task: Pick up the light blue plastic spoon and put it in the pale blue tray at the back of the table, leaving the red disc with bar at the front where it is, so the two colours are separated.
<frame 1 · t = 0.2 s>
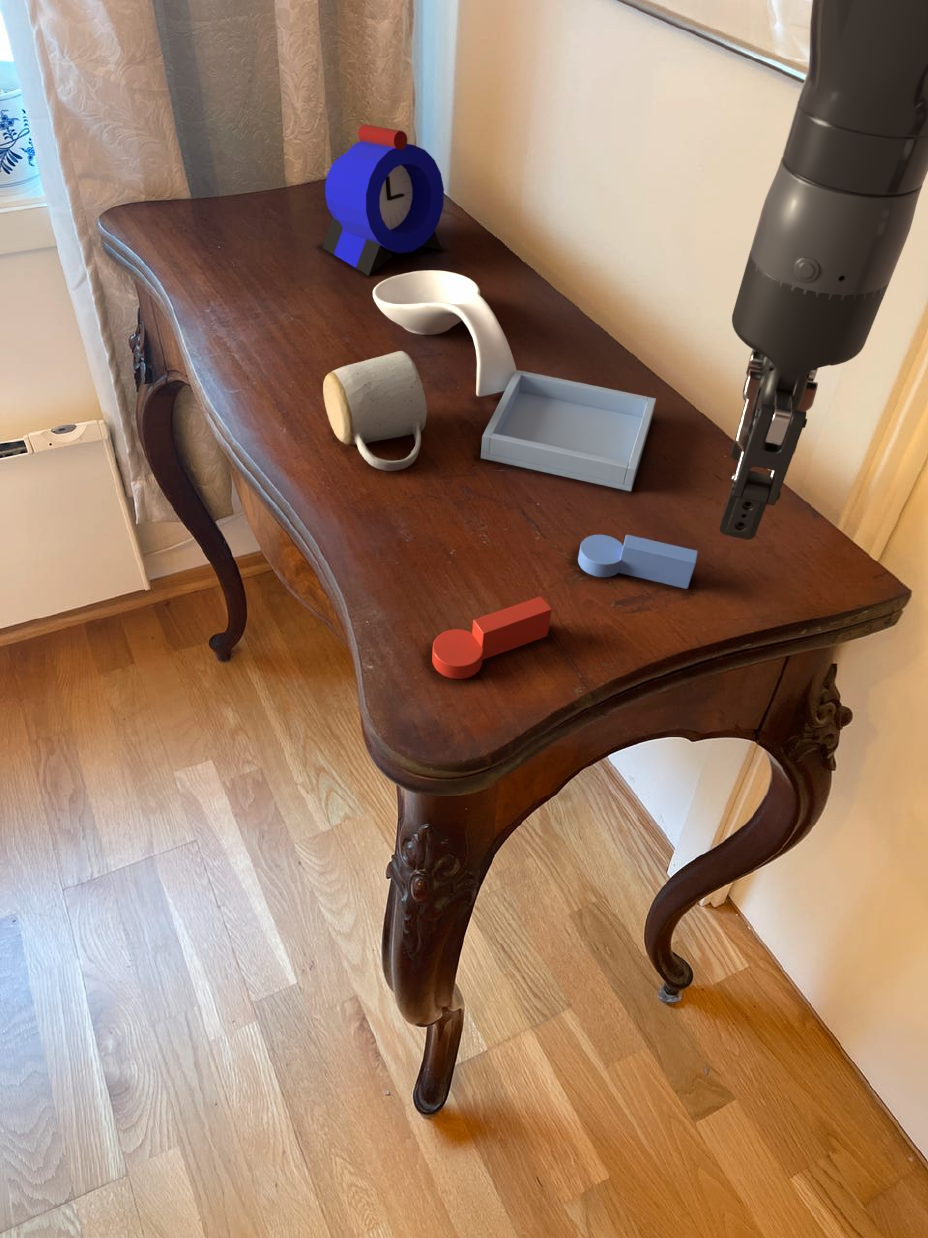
hand: (741, 494, 62), 15 cm above the table, tool pointing down, fingers open, 8 cm apart
alarm clock: (380, 248, 120), on the table
blue tray: (568, 438, 92), on the table
spoon rest: (449, 345, 104), on the table, touching blue tray
ceramic mug: (382, 442, 91), on the table
blue spoon: (630, 569, 79), on the table
red disc with bar: (486, 649, 72), on the table
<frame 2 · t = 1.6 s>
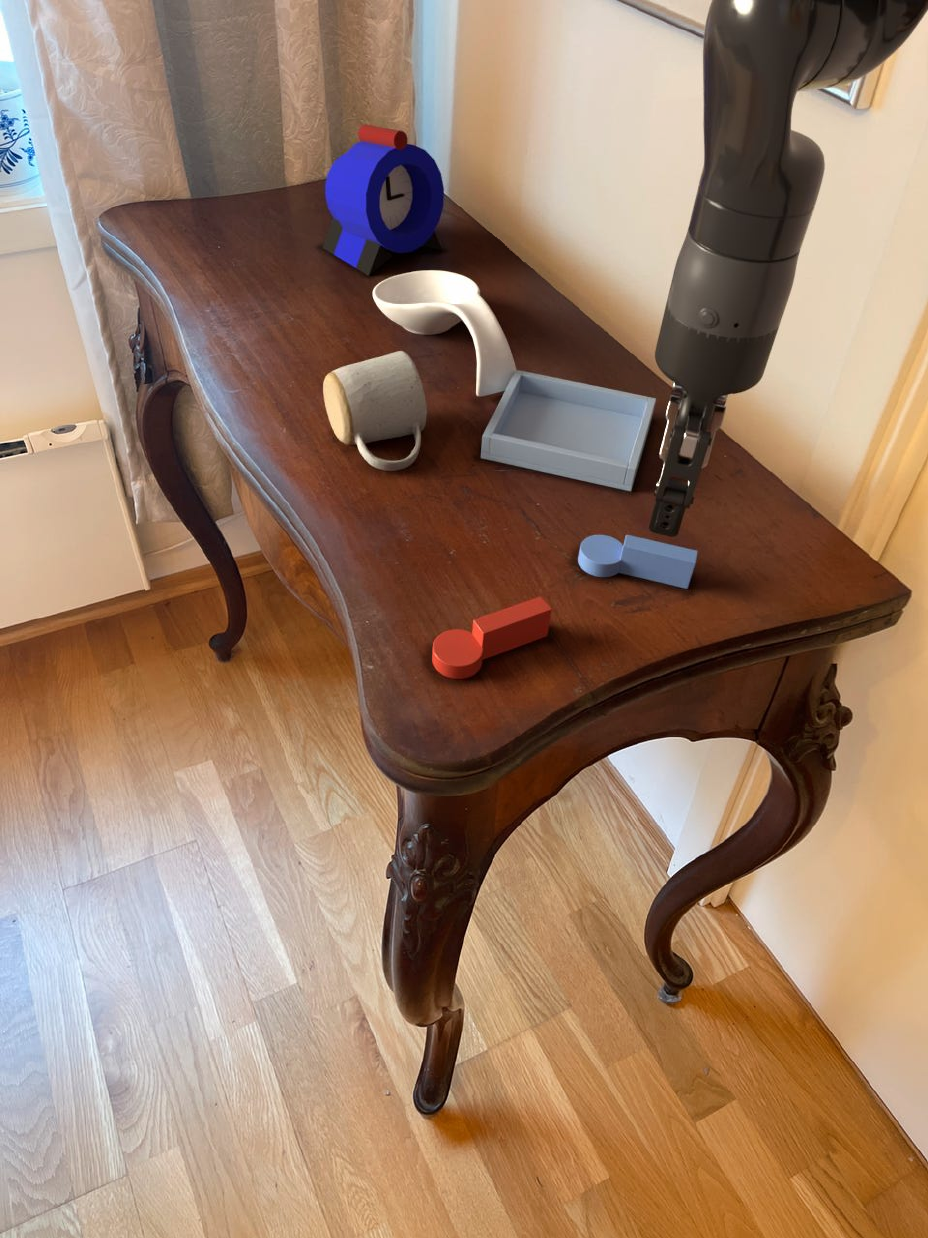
hand: (670, 498, 73), 8 cm above the table, tool pointing down, fingers open, 8 cm apart
nothing on the table moved.
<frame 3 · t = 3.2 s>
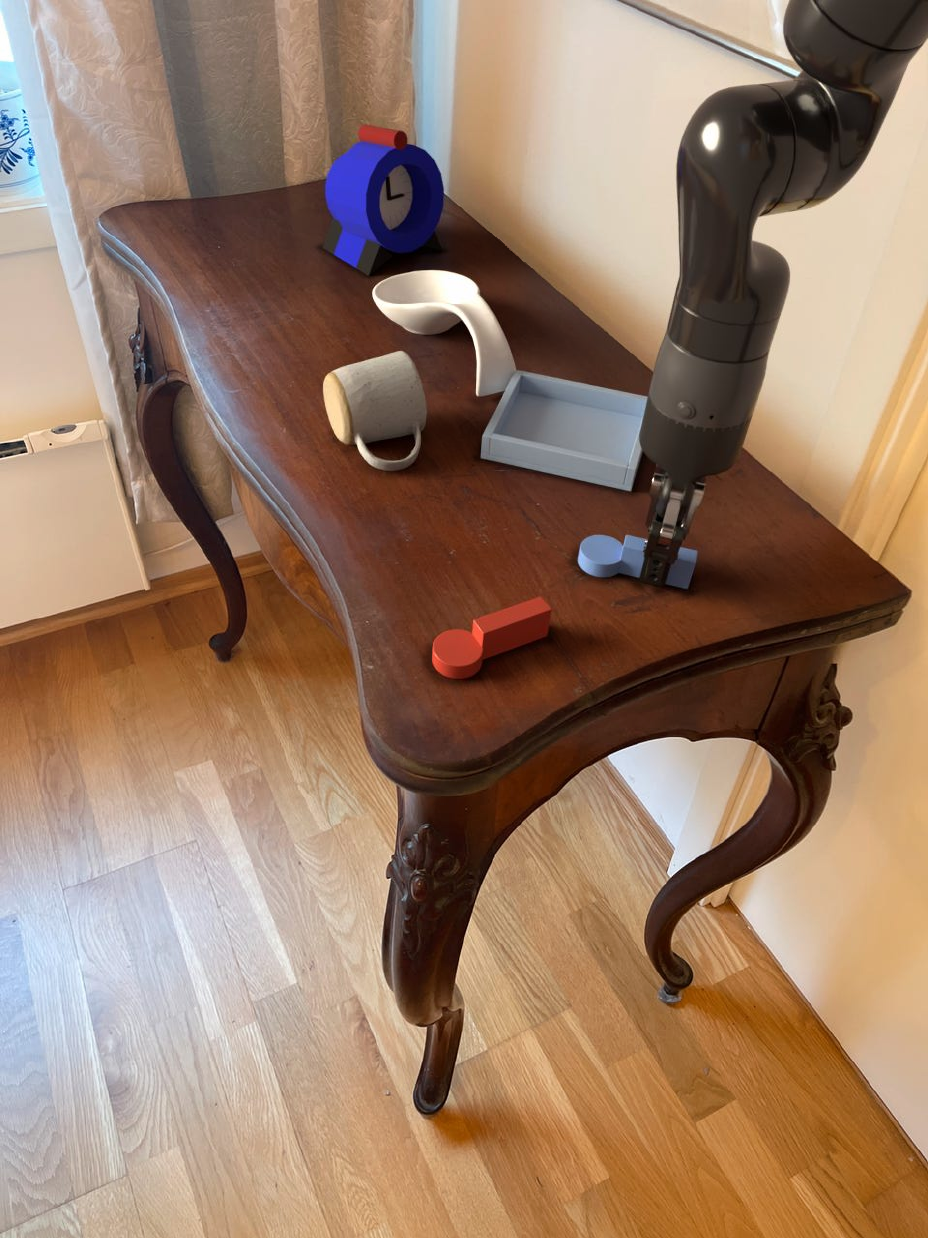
hand: (653, 572, 79), 0 cm above the table, tool pointing down, fingers closed on blue spoon
blue spoon: (630, 569, 79), on the table, touching gripper
everything else where it was.
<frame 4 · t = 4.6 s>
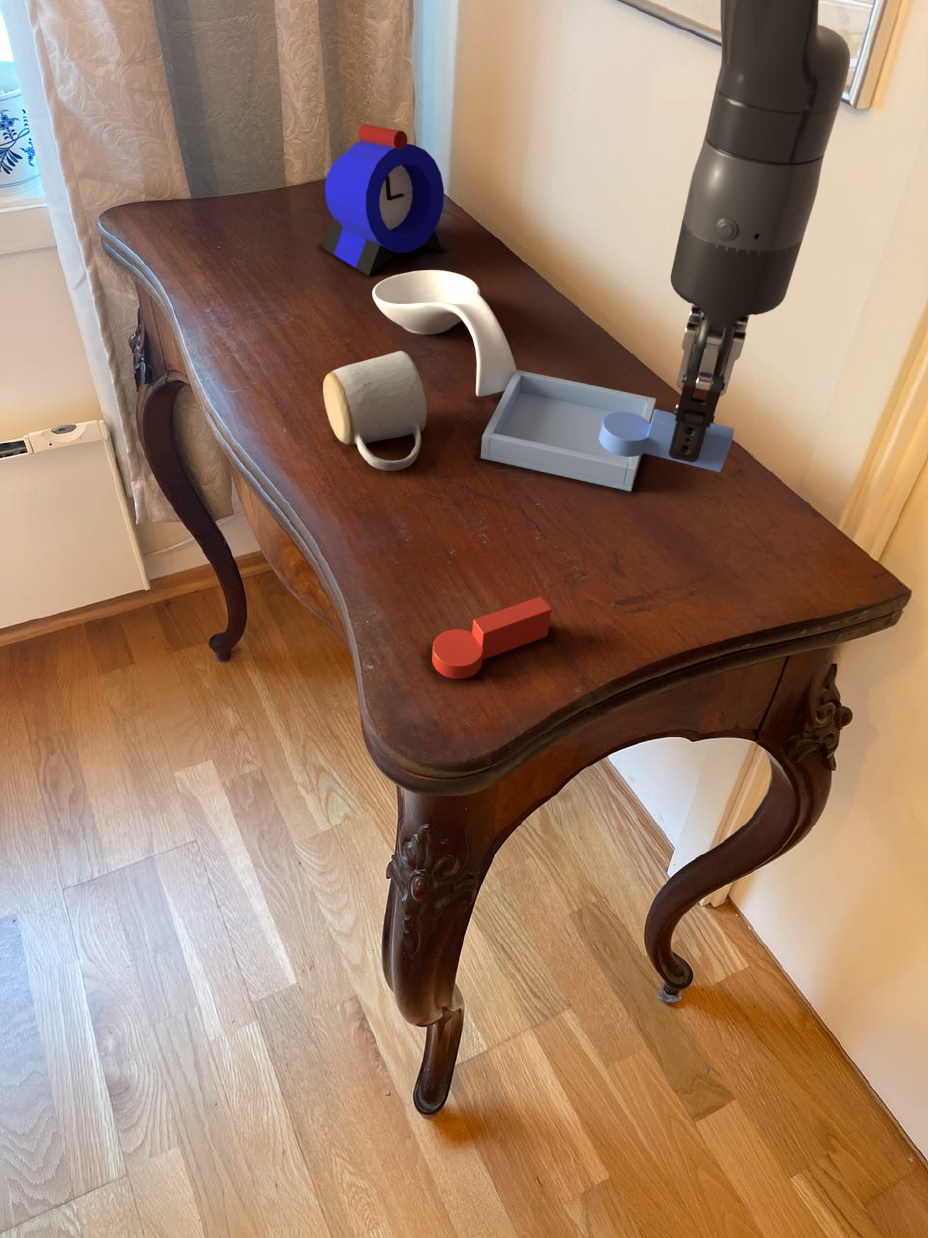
hand: (684, 449, 71), 12 cm above the table, tool pointing down, fingers closed on blue spoon
blue spoon: (656, 450, 71), point 12 cm above the table, touching gripper
everything else where it was.
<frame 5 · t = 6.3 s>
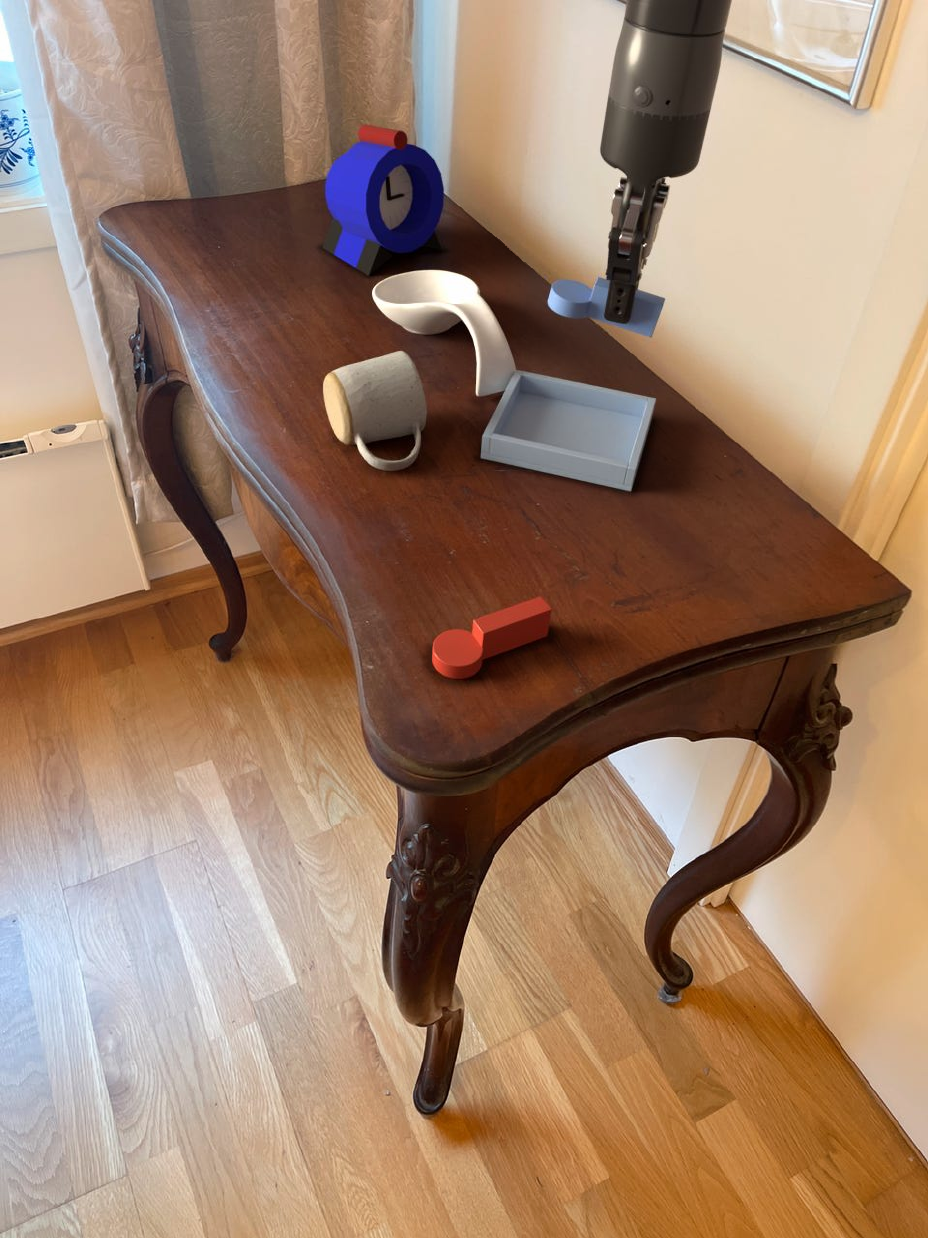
hand: (618, 314, 80), 15 cm above the table, tool pointing down, fingers closed on blue spoon
blue spoon: (597, 315, 81), point 14 cm above the table, tilted 8°, touching gripper
everything else where it was.
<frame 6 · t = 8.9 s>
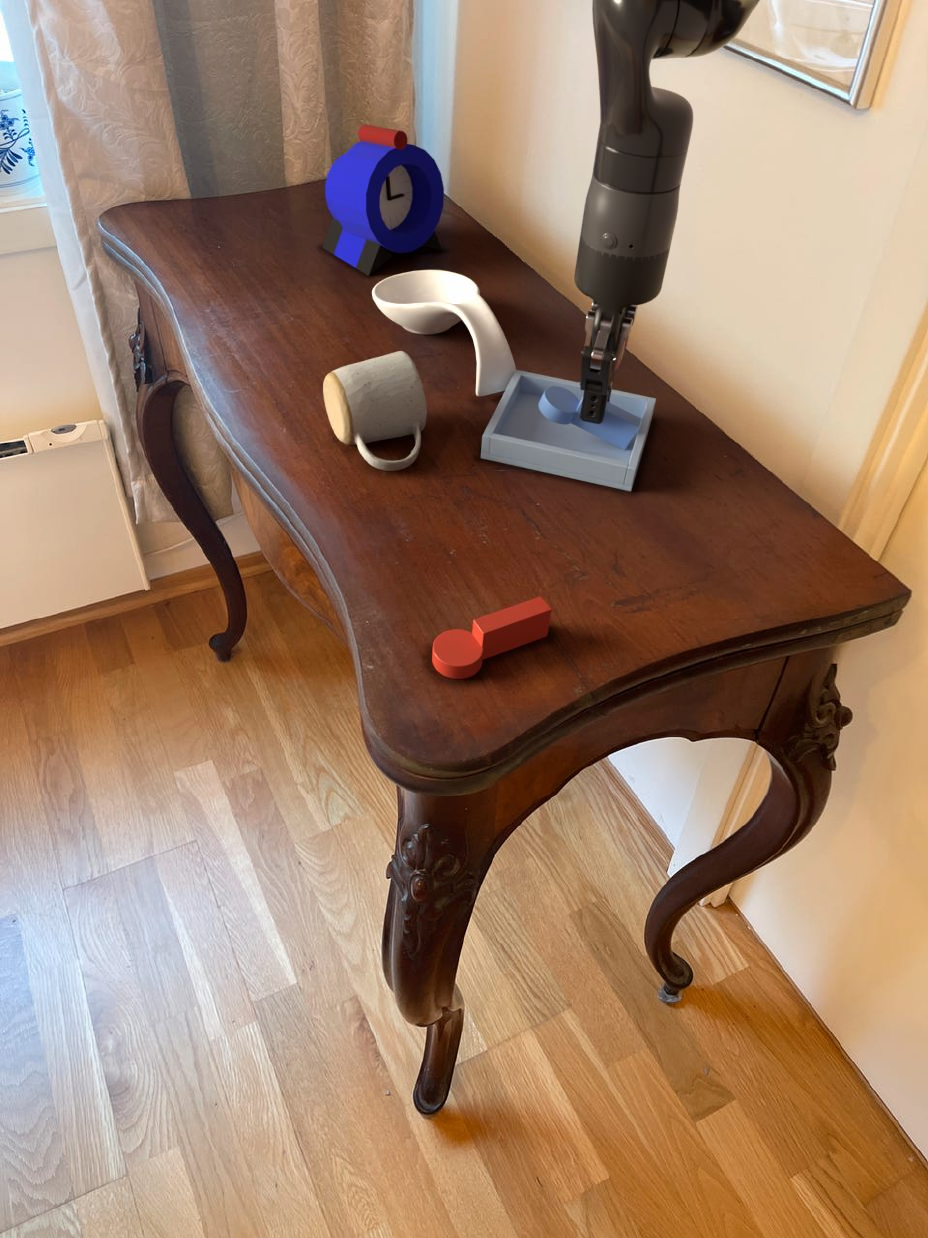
hand: (594, 412, 90), 4 cm above the table, tool pointing down, fingers closed
blue spoon: (580, 423, 91), point 2 cm above the table, tilted 17°, touching blue tray
everything else where it was.
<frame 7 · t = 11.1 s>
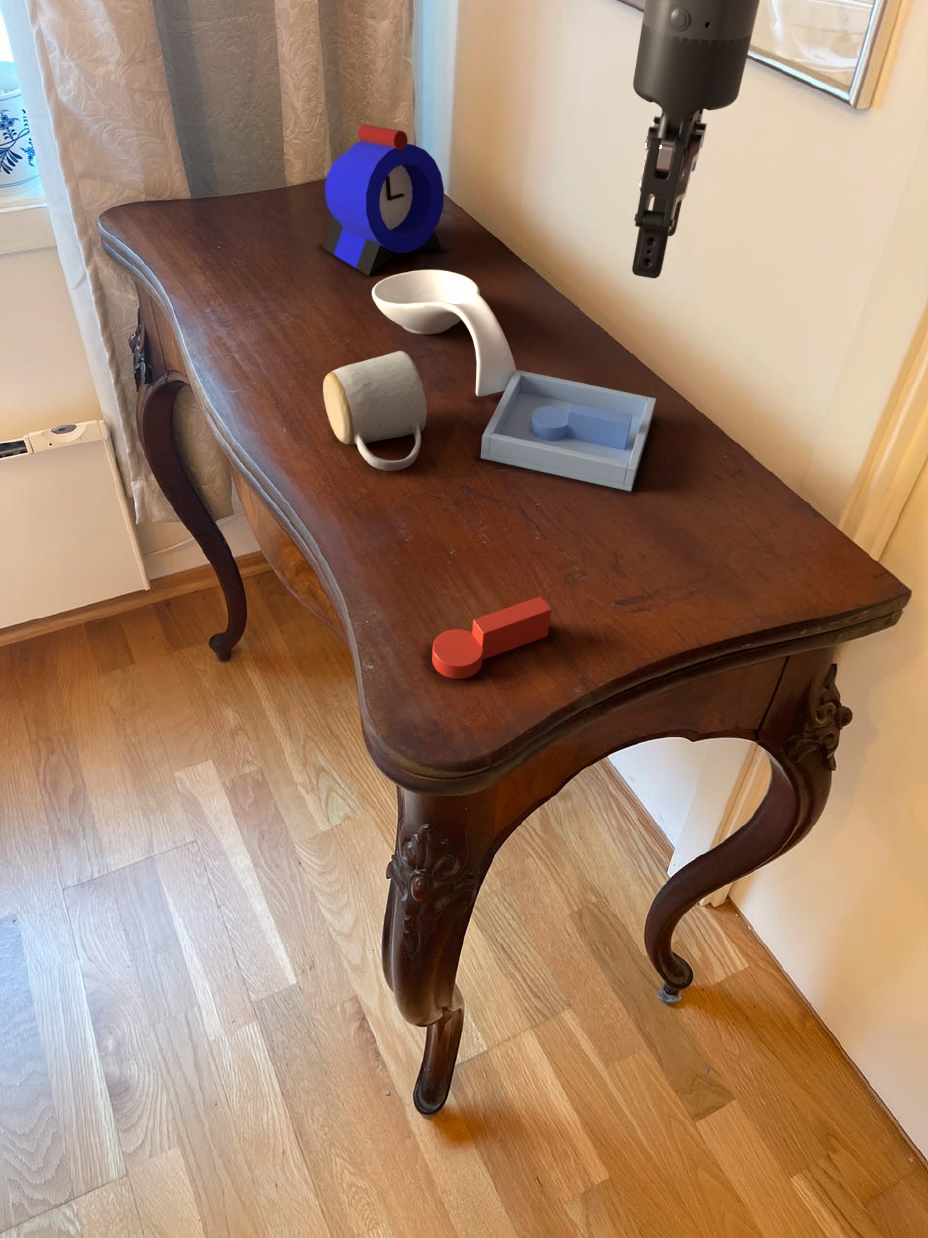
hand: (654, 253, 75), 21 cm above the table, tool pointing down, fingers open, 8 cm apart
blue spoon: (575, 435, 92), point 1 cm above the table, touching blue tray
everything else where it was.
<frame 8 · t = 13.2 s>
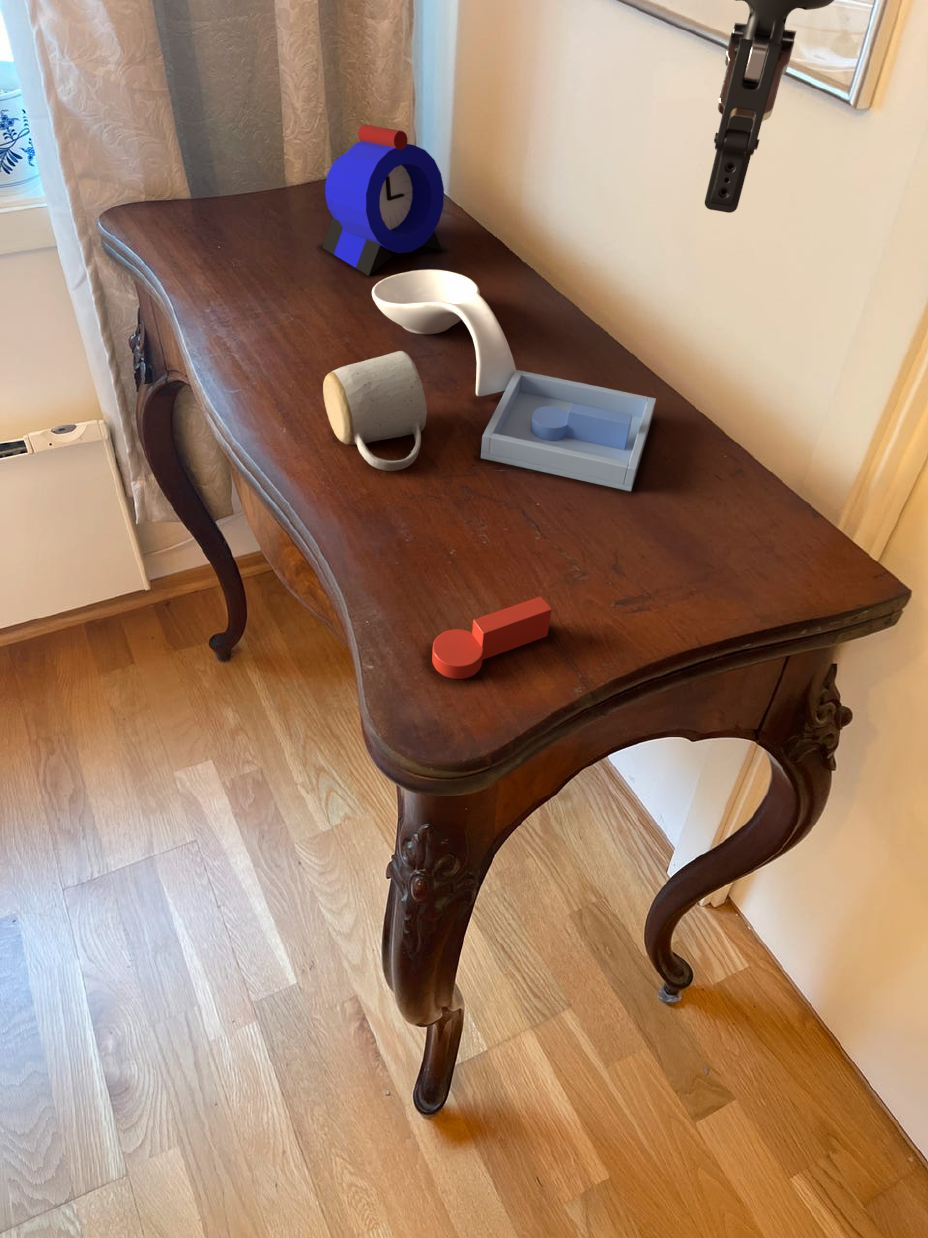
hand: (725, 186, 66), 28 cm above the table, tool pointing down, fingers open, 8 cm apart
nothing on the table moved.
at the end: blue spoon inside the target area in the blue tray (0.6 cm from its centre), point 0.6 cm above the blue tray's base; red disc with bar inside the target area (0.0 cm from its centre), on the table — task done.
